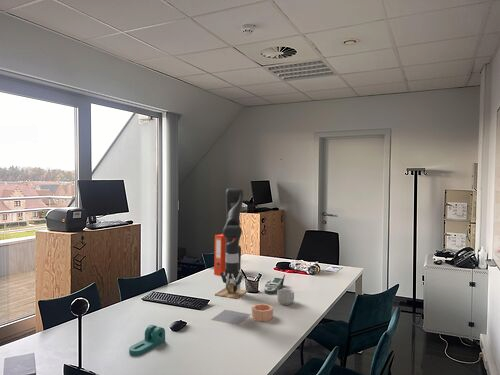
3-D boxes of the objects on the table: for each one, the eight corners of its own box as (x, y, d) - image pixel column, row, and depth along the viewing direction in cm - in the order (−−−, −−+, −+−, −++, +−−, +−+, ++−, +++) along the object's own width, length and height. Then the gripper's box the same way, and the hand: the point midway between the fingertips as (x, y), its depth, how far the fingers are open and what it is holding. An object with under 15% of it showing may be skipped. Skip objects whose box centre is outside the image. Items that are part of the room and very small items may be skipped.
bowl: (249, 319, 206) (249, 309, 205) (257, 313, 216) (257, 303, 215) (267, 323, 201) (268, 312, 201) (274, 316, 211) (274, 305, 211)
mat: (210, 320, 204) (210, 319, 204) (225, 310, 220) (225, 309, 220) (238, 325, 197) (238, 325, 197) (251, 314, 213) (251, 314, 213)
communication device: (259, 294, 252) (259, 281, 252) (269, 284, 275) (269, 272, 274) (275, 296, 248) (275, 283, 248) (285, 285, 270) (285, 274, 270)
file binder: (235, 272, 307) (235, 233, 306) (221, 276, 293) (221, 236, 292) (228, 270, 312) (228, 232, 311) (214, 274, 298) (214, 235, 297)
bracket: (154, 338, 181) (154, 322, 181) (165, 341, 178) (165, 325, 178) (125, 353, 166) (125, 336, 165) (136, 357, 162) (136, 339, 162)
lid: (214, 295, 204) (214, 285, 204) (226, 288, 217) (226, 278, 217) (237, 299, 199) (237, 288, 199) (247, 291, 212) (248, 281, 211)
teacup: (293, 307, 226) (293, 294, 226) (275, 305, 228) (275, 292, 228) (295, 299, 240) (295, 287, 240) (278, 298, 242) (278, 286, 242)
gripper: (217, 260, 207) (217, 291, 207) (240, 263, 201) (240, 294, 202) (224, 258, 213) (223, 287, 214) (246, 260, 208) (245, 290, 209)
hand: (231, 290), depth 208 cm, fingers closed on lid, 3 cm apart
